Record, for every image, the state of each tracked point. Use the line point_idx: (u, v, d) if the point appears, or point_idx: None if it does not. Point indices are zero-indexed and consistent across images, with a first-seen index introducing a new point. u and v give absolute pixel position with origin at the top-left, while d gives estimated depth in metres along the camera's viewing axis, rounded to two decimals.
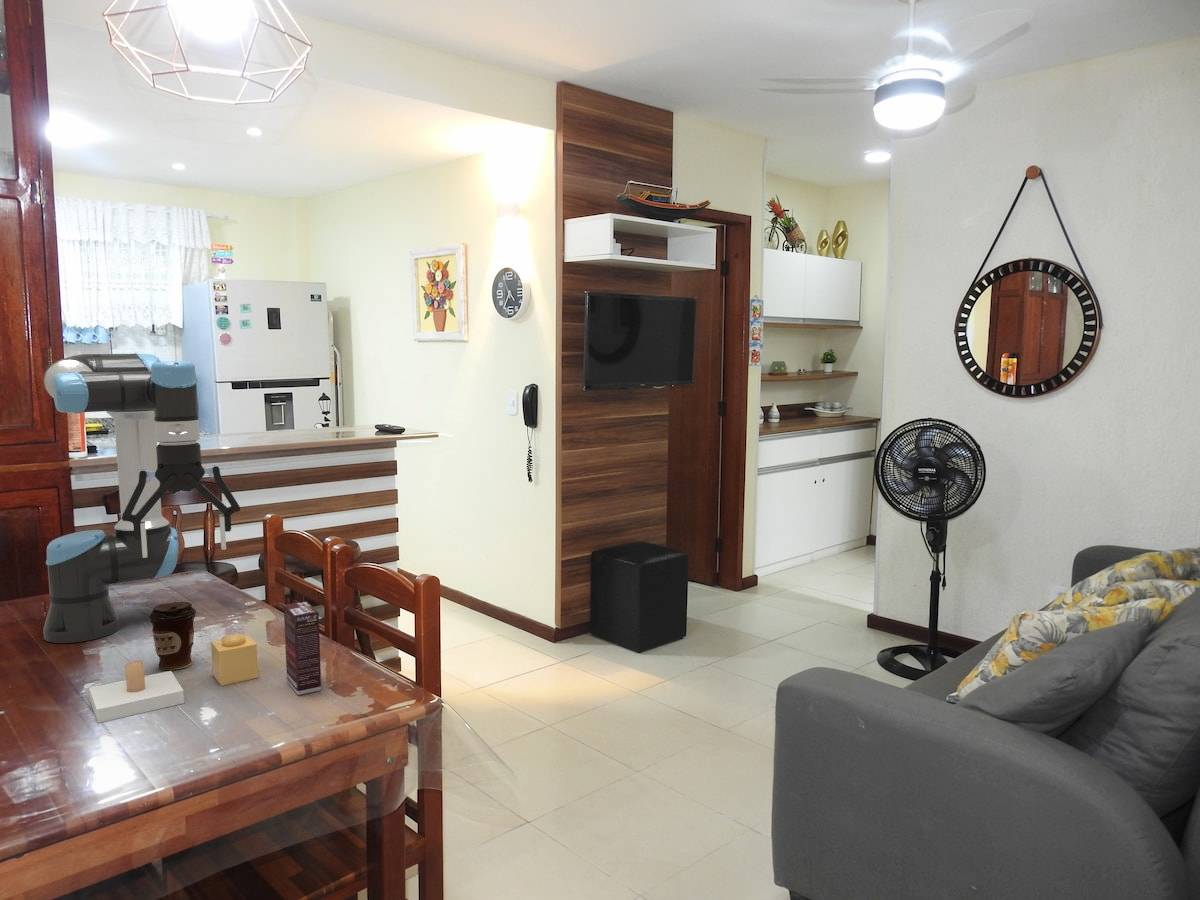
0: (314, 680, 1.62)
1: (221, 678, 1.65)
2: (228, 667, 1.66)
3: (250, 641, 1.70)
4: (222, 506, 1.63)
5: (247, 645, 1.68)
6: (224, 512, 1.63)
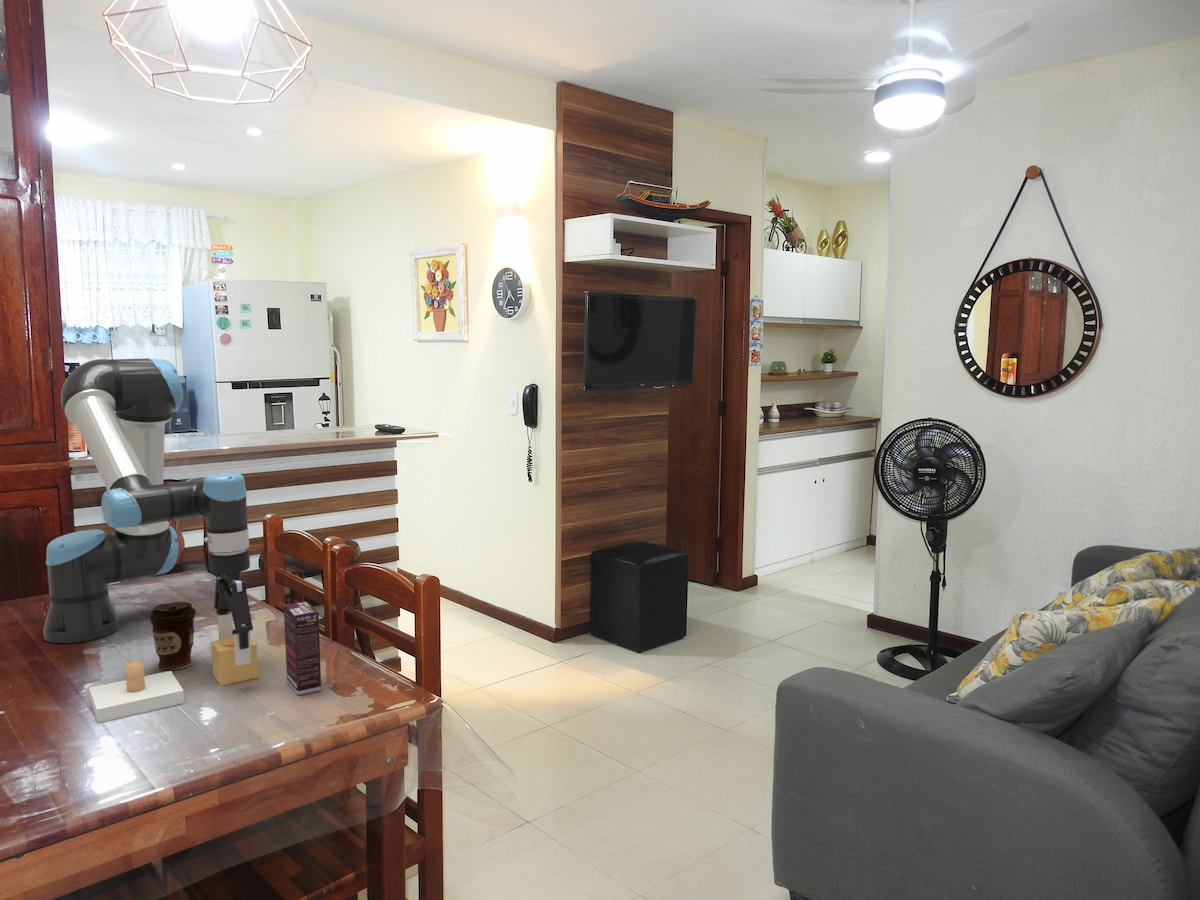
0: (314, 680, 1.62)
1: (221, 678, 1.65)
2: (228, 667, 1.66)
3: (250, 641, 1.70)
4: (235, 622, 1.62)
5: None
6: None
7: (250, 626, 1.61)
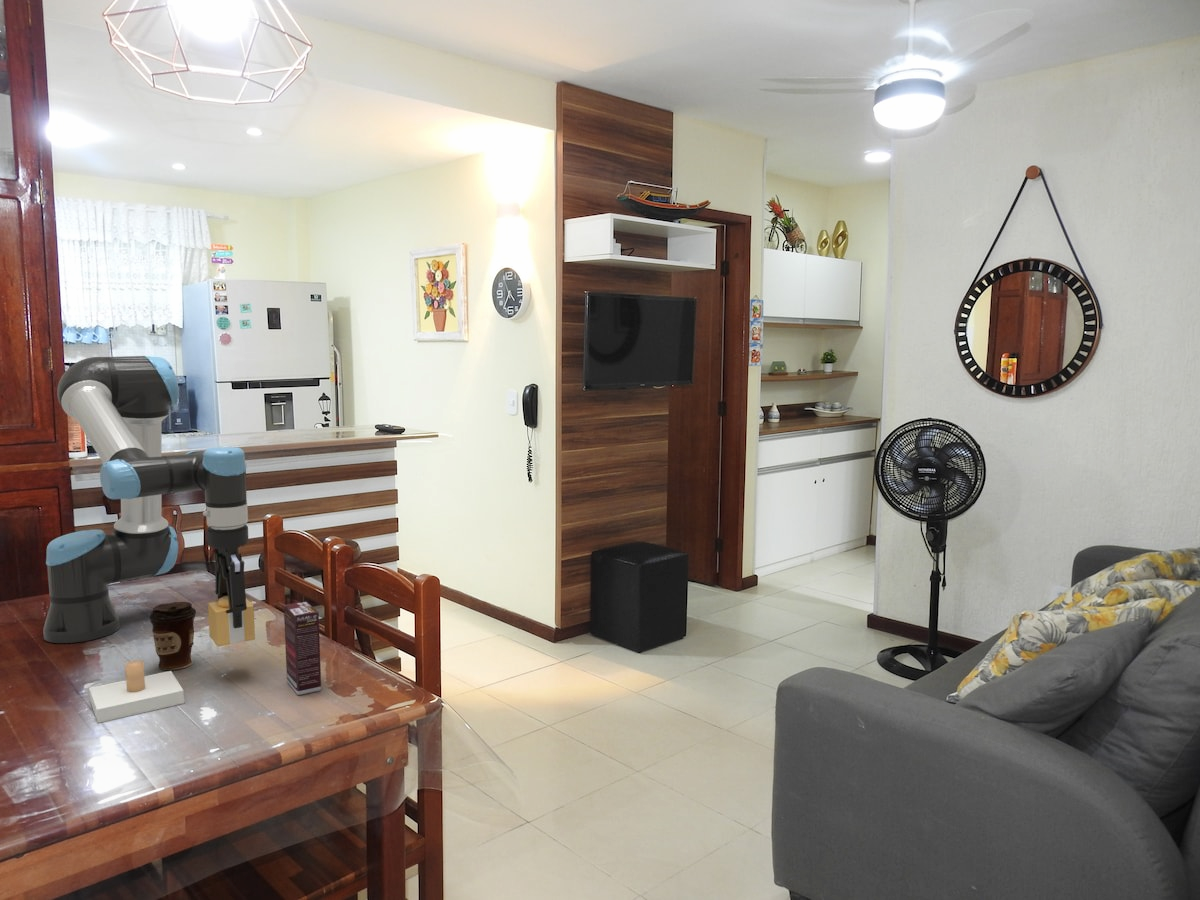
0: (314, 680, 1.62)
1: (218, 639, 1.65)
2: (225, 628, 1.65)
3: (247, 603, 1.69)
4: (229, 601, 1.64)
5: None
6: (229, 607, 1.64)
7: (244, 607, 1.63)
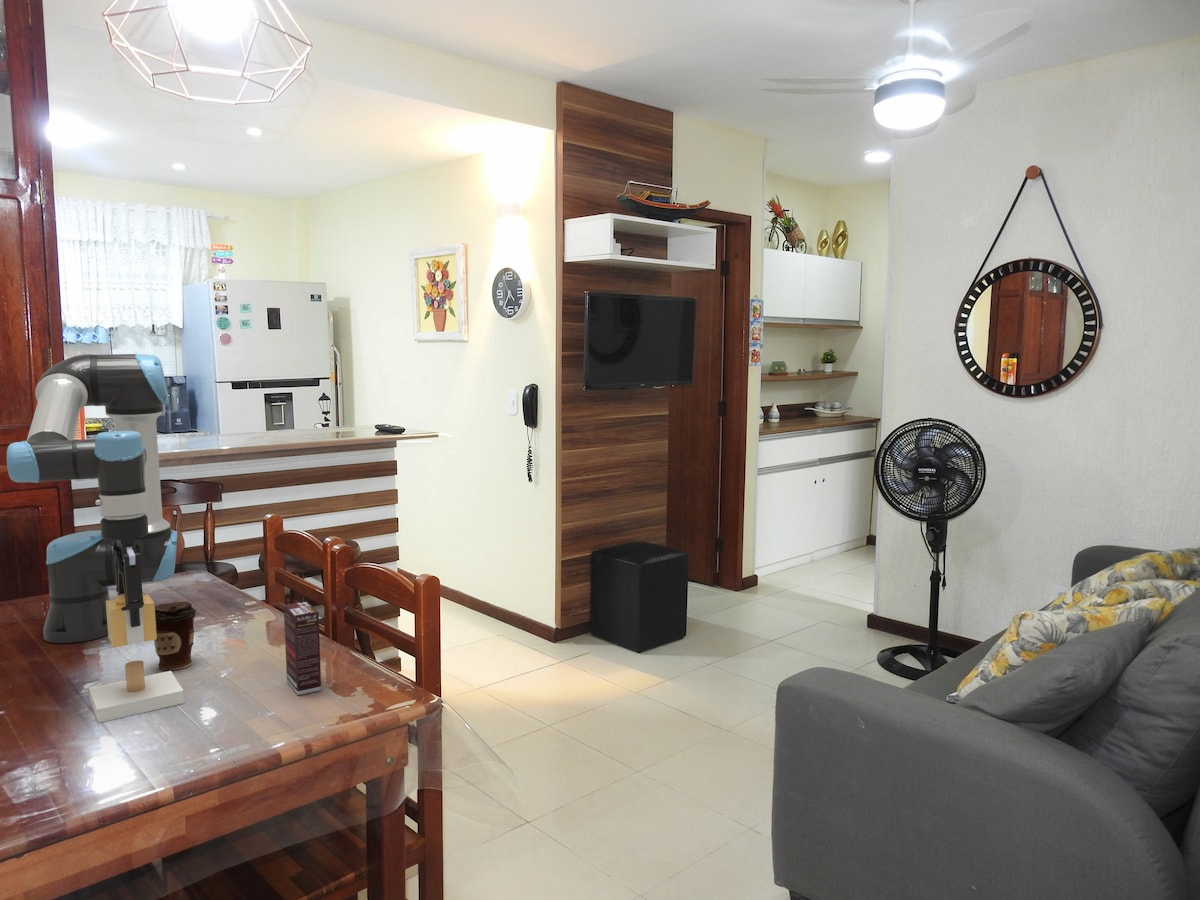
0: (314, 680, 1.62)
1: (113, 639, 1.51)
2: (121, 627, 1.52)
3: (148, 600, 1.56)
4: (125, 598, 1.51)
5: (144, 603, 1.54)
6: None
7: (141, 603, 1.50)
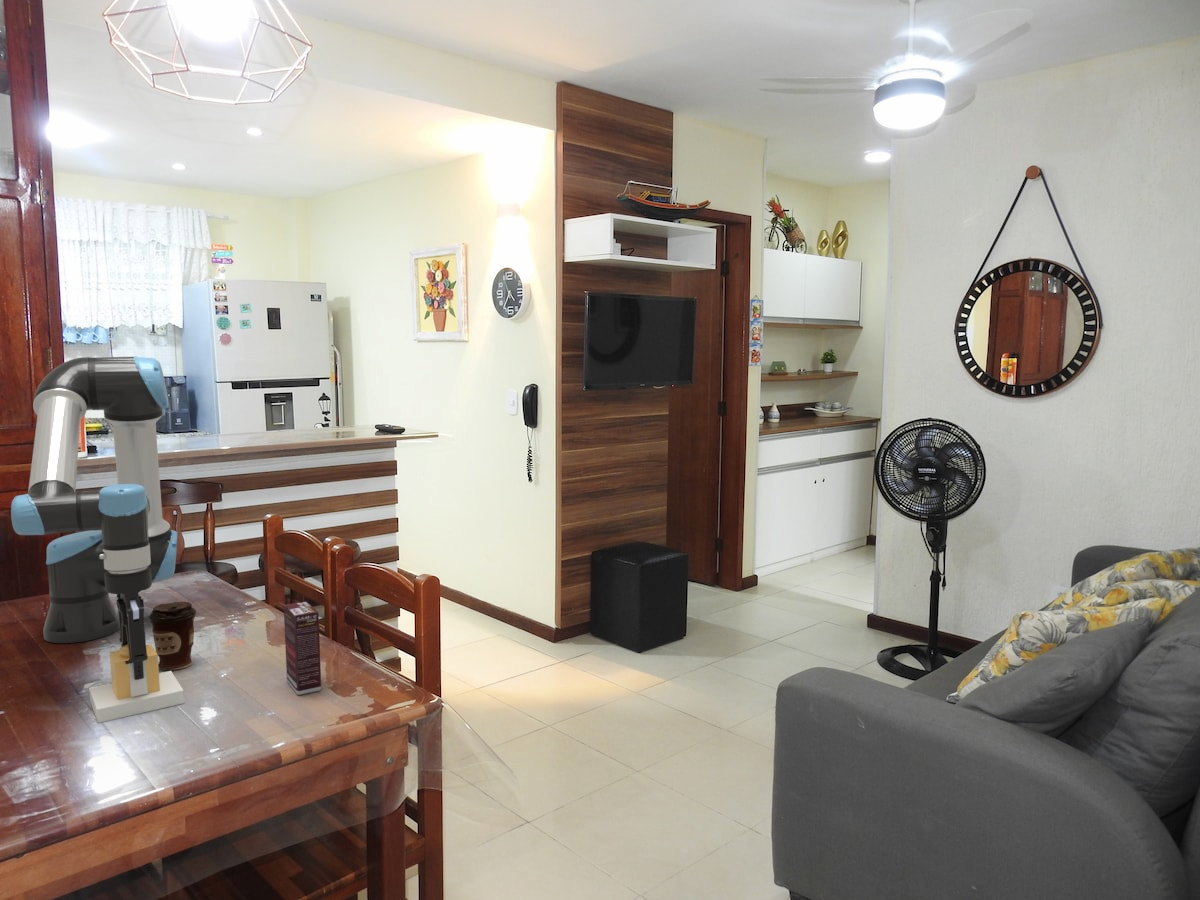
0: (314, 680, 1.62)
1: (117, 692, 1.53)
2: (125, 680, 1.53)
3: (152, 651, 1.57)
4: (129, 651, 1.52)
5: None
6: (129, 657, 1.52)
7: (144, 657, 1.51)
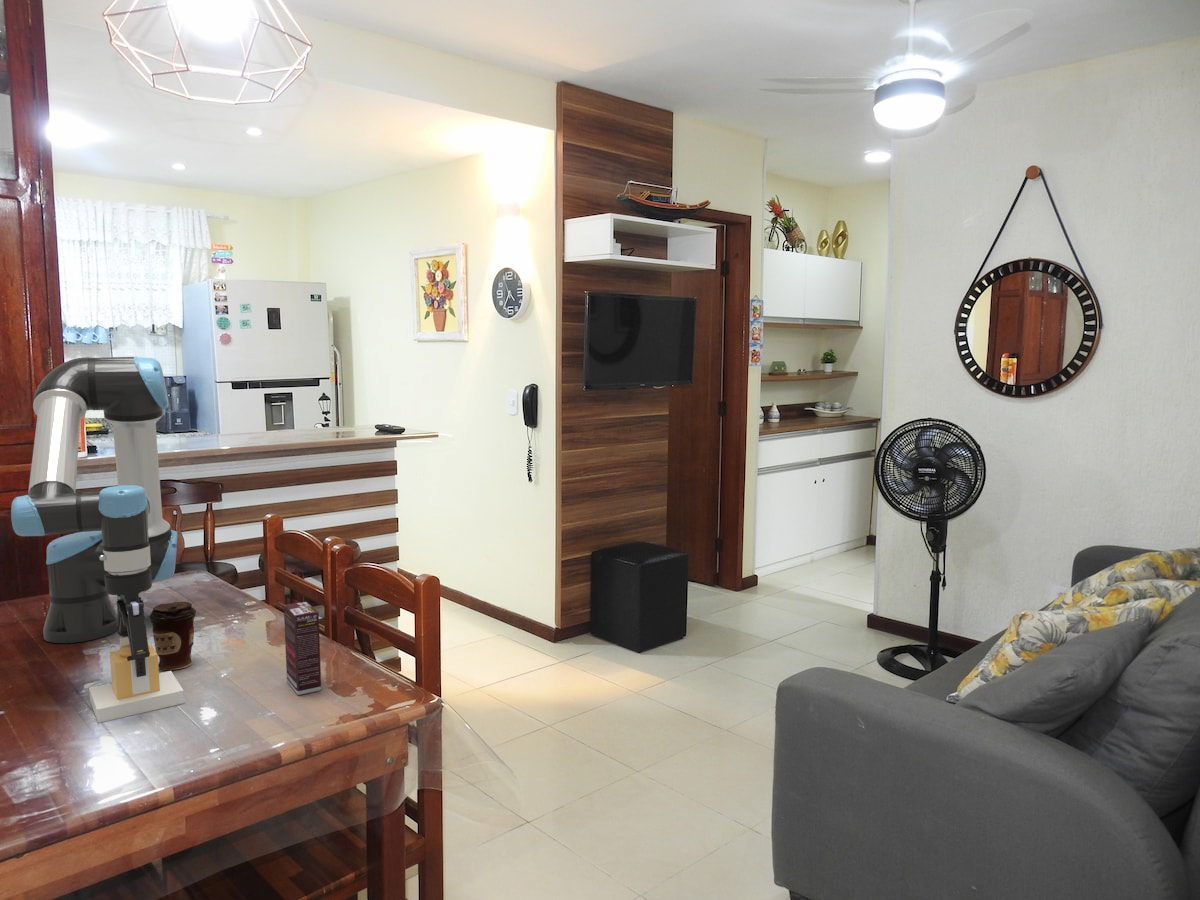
0: (314, 680, 1.62)
1: (117, 692, 1.53)
2: (125, 680, 1.53)
3: (152, 651, 1.57)
4: (131, 648, 1.50)
5: None
6: (131, 655, 1.50)
7: (146, 652, 1.49)
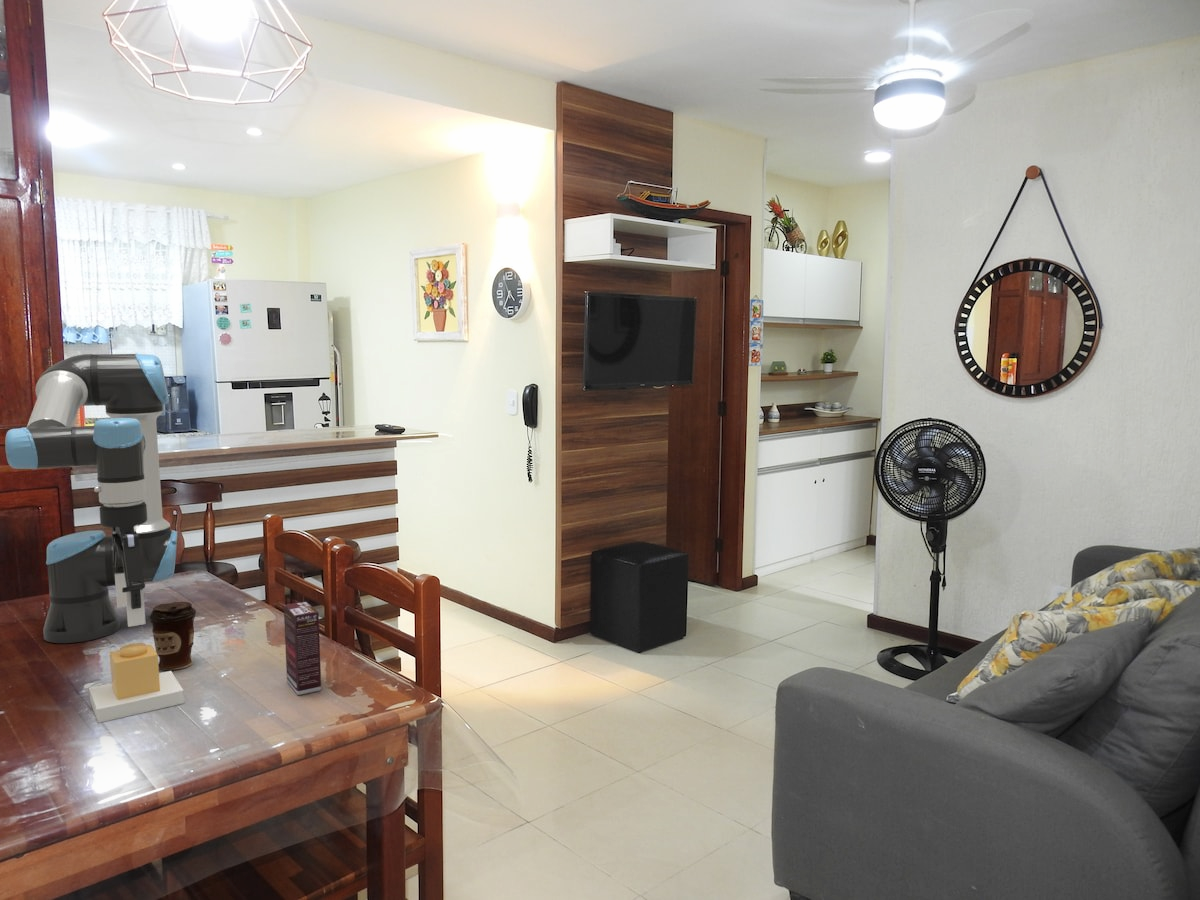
0: (314, 680, 1.62)
1: (117, 692, 1.53)
2: (125, 680, 1.53)
3: (152, 651, 1.57)
4: (126, 580, 1.49)
5: (147, 656, 1.55)
6: (126, 587, 1.49)
7: (142, 584, 1.48)
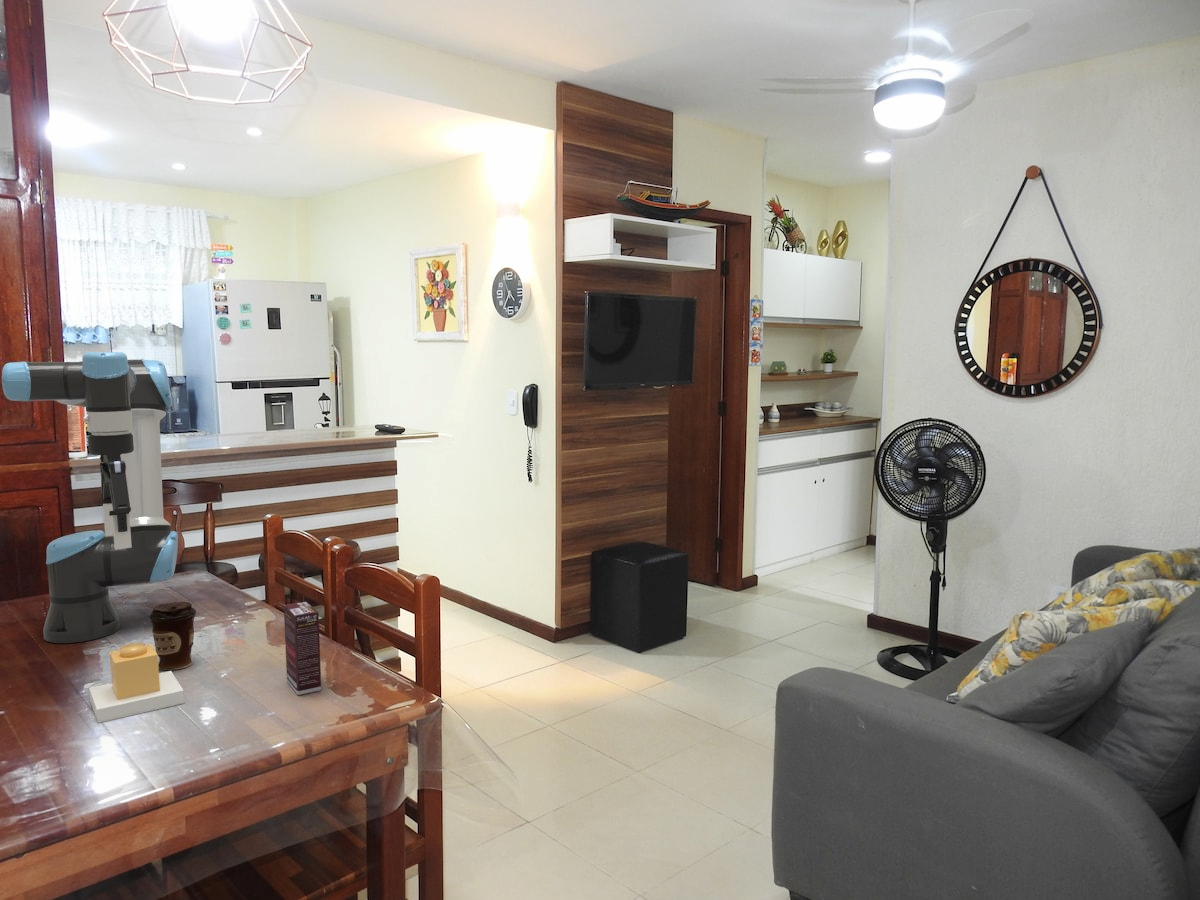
0: (314, 680, 1.62)
1: (117, 692, 1.53)
2: (125, 680, 1.53)
3: (152, 651, 1.57)
4: (112, 504, 1.56)
5: (147, 656, 1.55)
6: (113, 511, 1.56)
7: (128, 507, 1.55)
